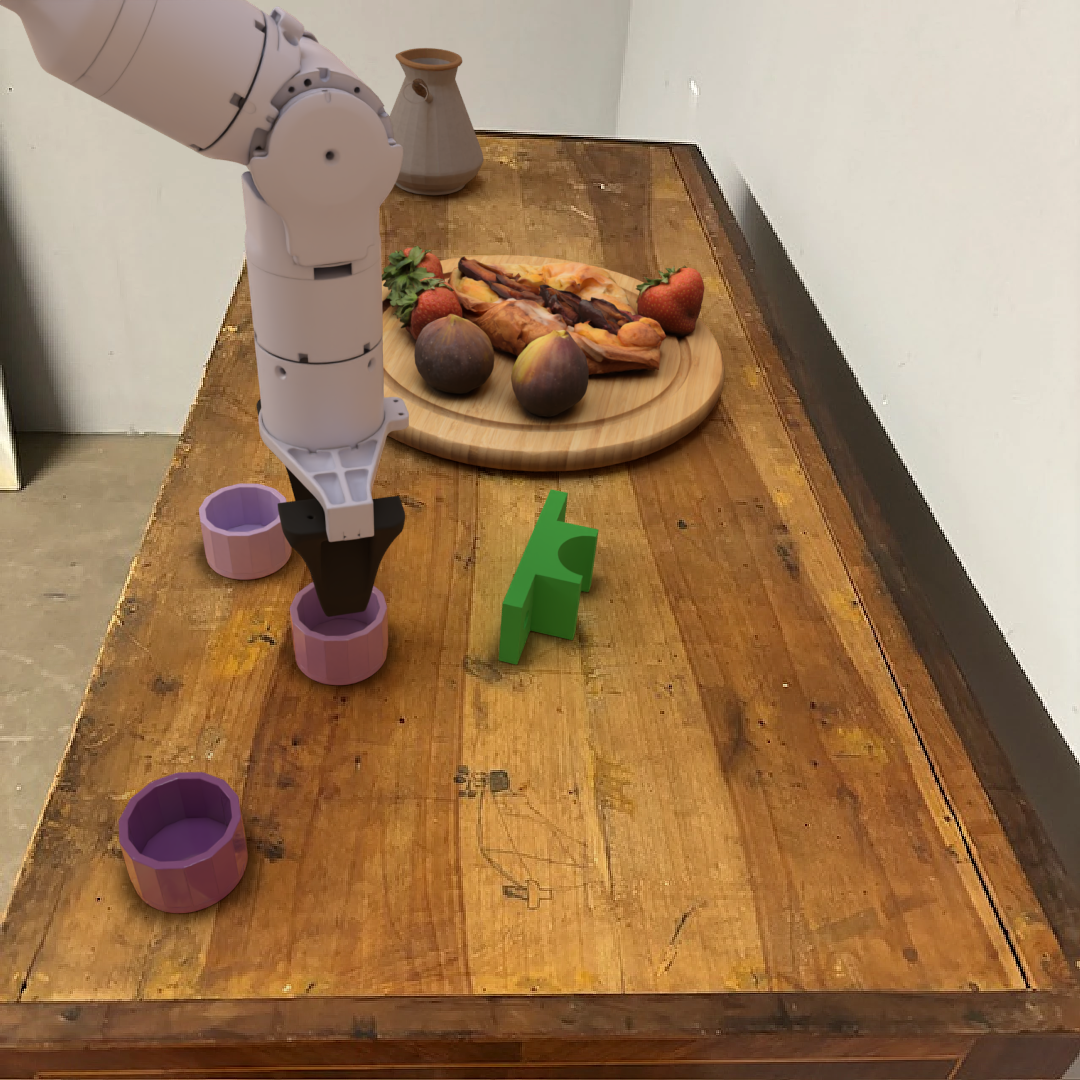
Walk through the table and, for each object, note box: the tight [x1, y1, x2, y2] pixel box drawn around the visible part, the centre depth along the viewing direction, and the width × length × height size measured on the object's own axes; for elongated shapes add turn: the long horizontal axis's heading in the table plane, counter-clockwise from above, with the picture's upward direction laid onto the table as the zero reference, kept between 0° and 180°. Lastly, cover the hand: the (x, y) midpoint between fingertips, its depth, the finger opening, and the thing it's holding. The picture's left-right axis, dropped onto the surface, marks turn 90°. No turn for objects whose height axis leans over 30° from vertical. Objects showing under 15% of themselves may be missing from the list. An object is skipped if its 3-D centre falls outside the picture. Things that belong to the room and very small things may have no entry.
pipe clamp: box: [498, 488, 600, 666], centre depth 65 cm, size 11×4×5 cm, turn 166°
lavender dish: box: [198, 483, 293, 581], centre depth 67 cm, size 5×5×4 cm
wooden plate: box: [382, 245, 726, 472], centre depth 86 cm, size 32×32×8 cm
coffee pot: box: [389, 47, 485, 196], centre depth 108 cm, size 21×12×15 cm, turn 179°
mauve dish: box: [289, 581, 389, 686], centre depth 61 cm, size 5×5×4 cm
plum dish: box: [118, 771, 249, 914], centre depth 49 cm, size 5×5×4 cm
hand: (332, 561), depth 57 cm, fingers open, 7 cm apart
